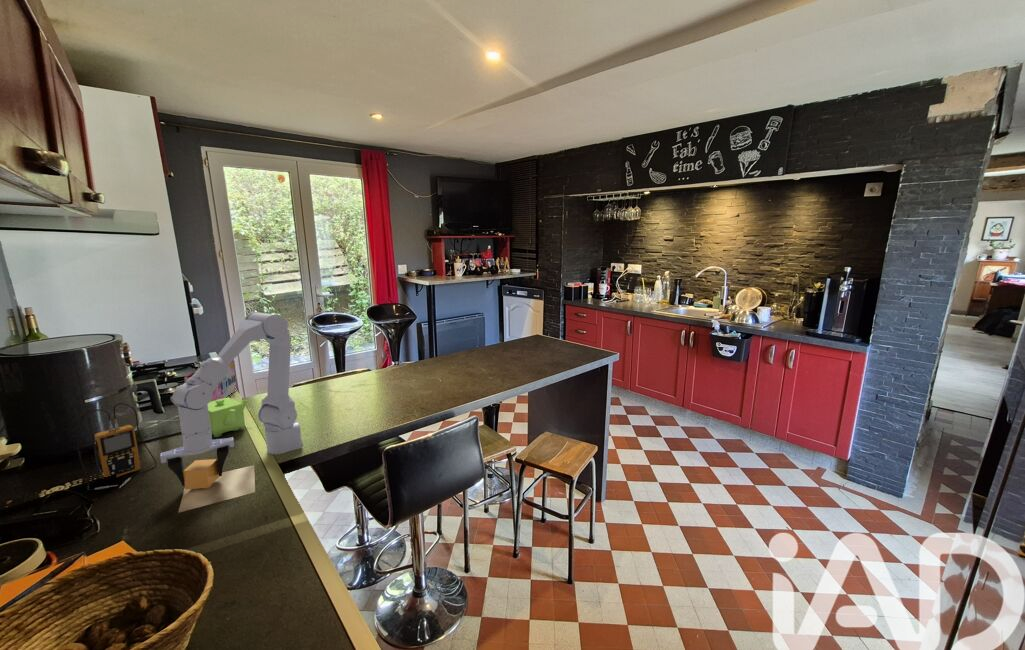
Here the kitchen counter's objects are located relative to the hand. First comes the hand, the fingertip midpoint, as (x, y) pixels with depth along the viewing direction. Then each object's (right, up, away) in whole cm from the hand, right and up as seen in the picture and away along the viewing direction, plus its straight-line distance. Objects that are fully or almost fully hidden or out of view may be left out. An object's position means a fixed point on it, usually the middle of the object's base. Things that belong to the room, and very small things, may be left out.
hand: (202, 479), depth 101 cm
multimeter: (-25, -2, +6) cm, 26 cm away
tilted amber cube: (0, -1, 0) cm, 1 cm away
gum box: (-44, +9, +61) cm, 75 cm away
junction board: (+4, -3, +1) cm, 5 cm away
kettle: (-20, +3, +34) cm, 39 cm away
